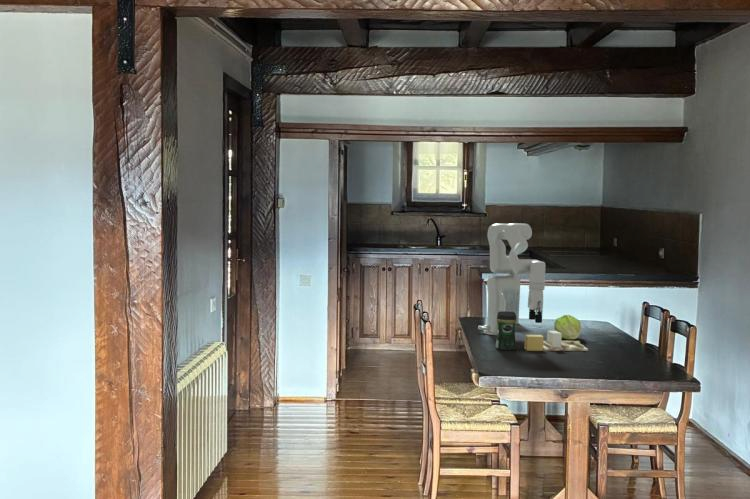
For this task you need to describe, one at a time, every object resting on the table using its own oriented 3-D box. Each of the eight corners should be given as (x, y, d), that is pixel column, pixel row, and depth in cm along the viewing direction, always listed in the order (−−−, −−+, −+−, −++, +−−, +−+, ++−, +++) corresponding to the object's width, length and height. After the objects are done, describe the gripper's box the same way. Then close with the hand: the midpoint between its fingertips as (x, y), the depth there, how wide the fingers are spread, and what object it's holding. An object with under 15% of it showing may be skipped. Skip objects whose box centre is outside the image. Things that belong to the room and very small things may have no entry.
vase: (519, 324, 446) (521, 278, 443) (502, 324, 446) (504, 278, 444) (516, 321, 456) (518, 276, 453) (500, 321, 456) (502, 276, 454)
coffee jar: (513, 347, 378) (515, 310, 377) (516, 350, 371) (518, 313, 369) (494, 346, 379) (495, 309, 377) (496, 350, 371) (498, 312, 369)
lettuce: (557, 332, 393) (580, 318, 392) (547, 319, 415) (570, 307, 414) (568, 352, 396) (592, 339, 394) (559, 339, 417) (581, 327, 416)
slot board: (544, 350, 374) (545, 345, 374) (536, 345, 386) (537, 340, 385) (587, 350, 376) (588, 345, 376) (578, 345, 388) (579, 340, 388)
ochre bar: (527, 350, 372) (527, 336, 372) (524, 348, 377) (524, 334, 376) (542, 350, 373) (543, 336, 373) (539, 348, 378) (540, 334, 377)
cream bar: (546, 344, 384) (547, 330, 383) (555, 344, 384) (555, 330, 384) (552, 347, 376) (552, 333, 375) (561, 347, 376) (561, 333, 376)
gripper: (523, 284, 381) (522, 318, 382) (534, 288, 364) (533, 323, 365) (538, 284, 382) (537, 318, 383) (550, 288, 365) (548, 324, 366)
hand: (535, 321), depth 374 cm, fingers open, 9 cm apart
